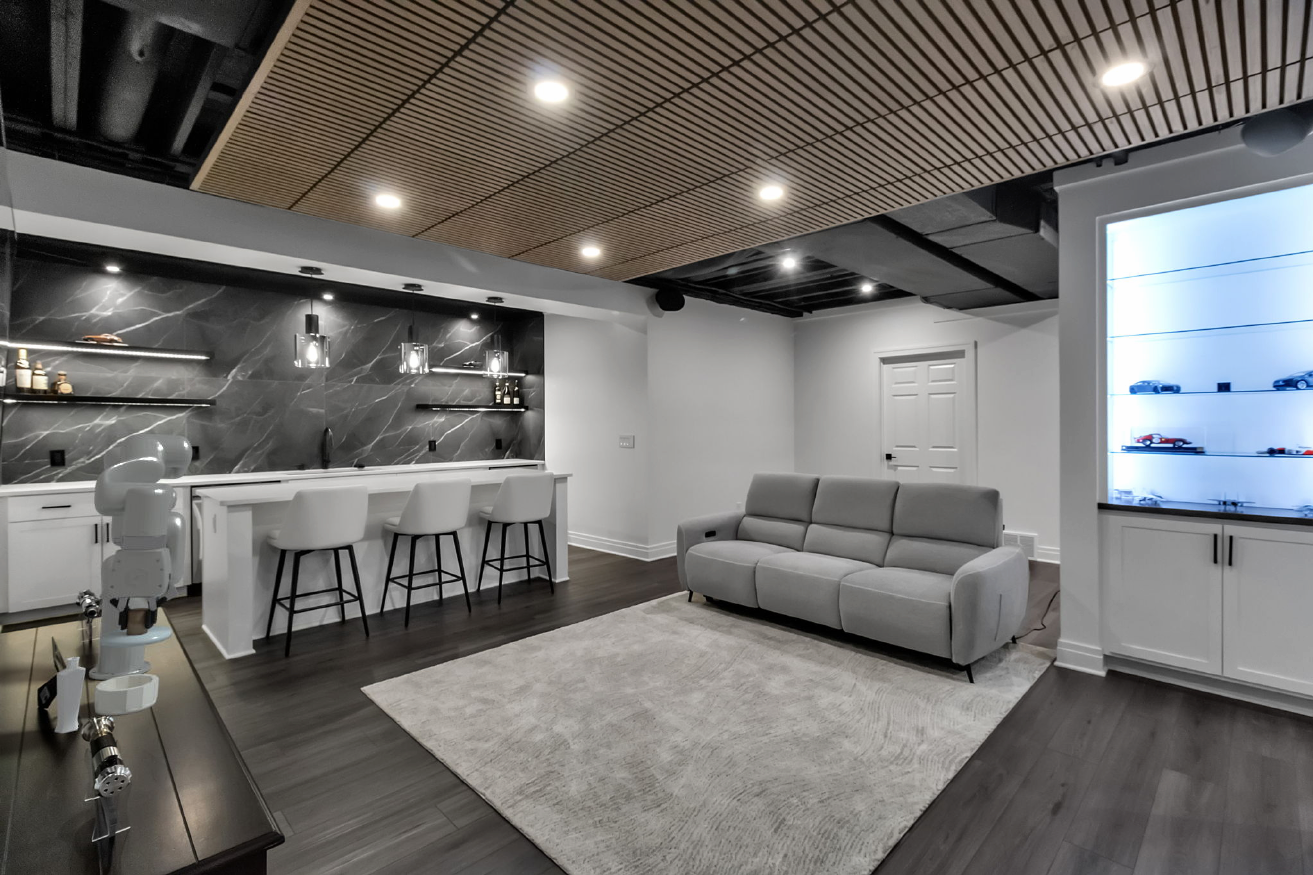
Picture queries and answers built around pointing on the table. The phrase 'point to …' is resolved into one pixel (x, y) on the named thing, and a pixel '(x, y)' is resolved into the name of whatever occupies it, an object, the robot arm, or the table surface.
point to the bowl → (126, 694)
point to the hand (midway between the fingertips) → (137, 627)
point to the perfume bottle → (69, 695)
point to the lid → (135, 632)
